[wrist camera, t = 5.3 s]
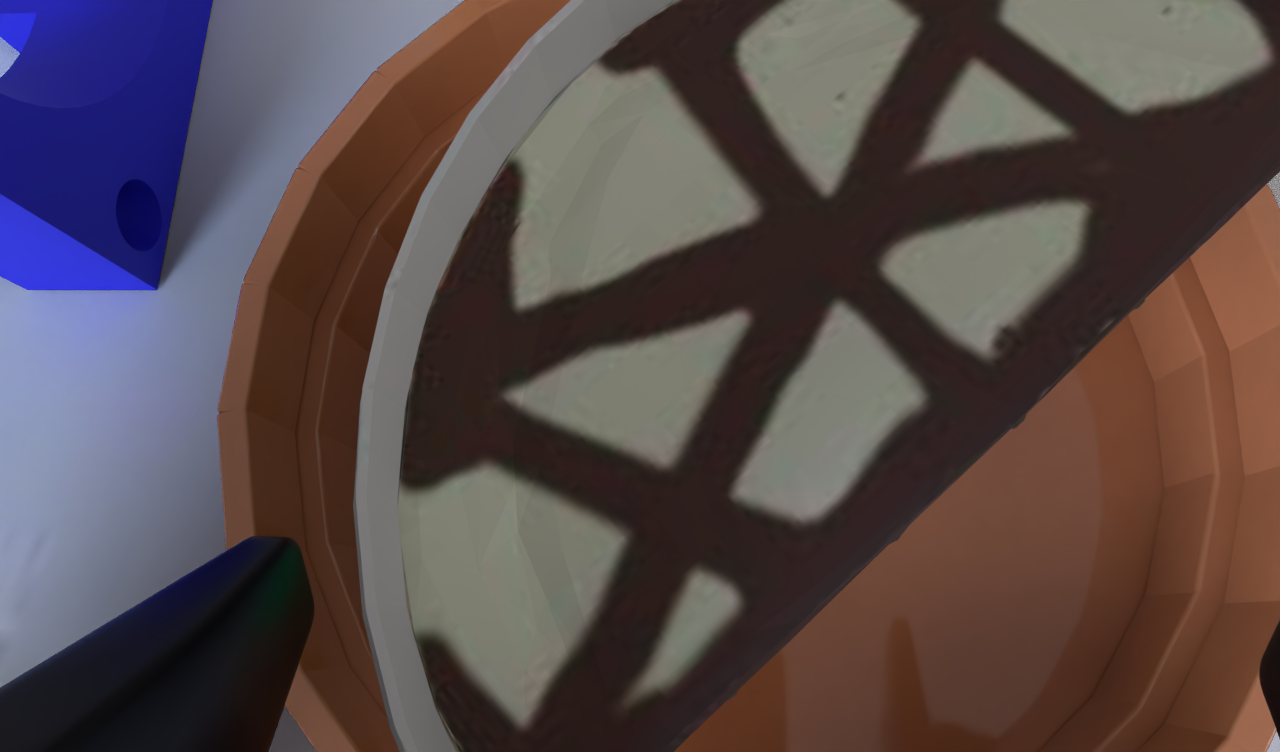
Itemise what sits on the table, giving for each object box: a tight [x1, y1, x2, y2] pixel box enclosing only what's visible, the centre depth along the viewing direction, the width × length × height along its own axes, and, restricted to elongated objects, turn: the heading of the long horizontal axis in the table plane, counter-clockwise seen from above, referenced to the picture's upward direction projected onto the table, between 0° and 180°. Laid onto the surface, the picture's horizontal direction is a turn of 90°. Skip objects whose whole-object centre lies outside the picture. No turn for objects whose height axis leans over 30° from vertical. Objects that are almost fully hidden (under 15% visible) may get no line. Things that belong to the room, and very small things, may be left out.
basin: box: [217, 0, 1280, 752], centre depth 16 cm, size 17×17×4 cm
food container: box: [353, 0, 1280, 752], centre depth 12 cm, size 12×6×10 cm, turn 132°
